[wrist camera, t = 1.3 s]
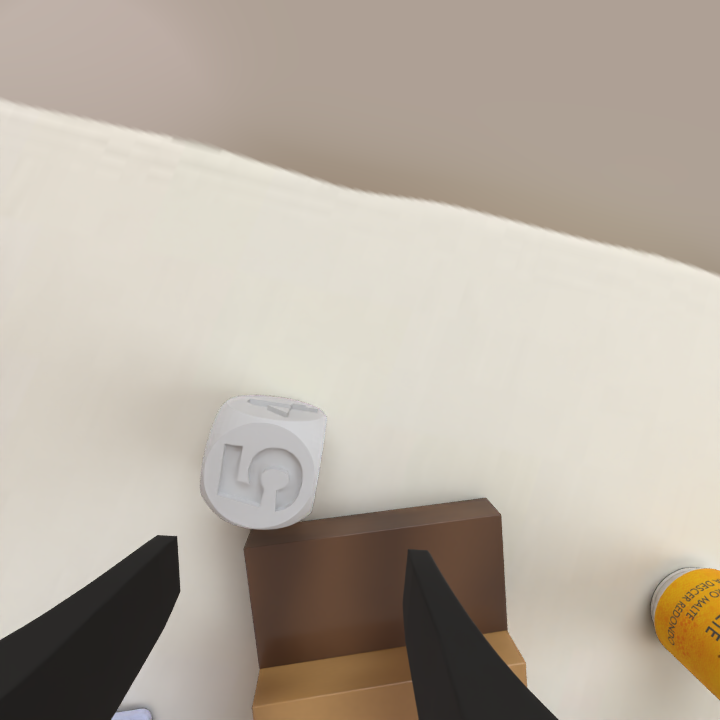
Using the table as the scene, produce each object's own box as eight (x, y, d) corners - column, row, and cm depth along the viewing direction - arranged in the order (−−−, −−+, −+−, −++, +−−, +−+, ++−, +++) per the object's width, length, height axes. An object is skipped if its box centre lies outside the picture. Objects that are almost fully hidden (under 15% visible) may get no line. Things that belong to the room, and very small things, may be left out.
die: (238, 389, 20) (209, 410, 15) (327, 404, 21) (326, 428, 16) (224, 476, 21) (192, 523, 16) (312, 487, 21) (307, 537, 16)
